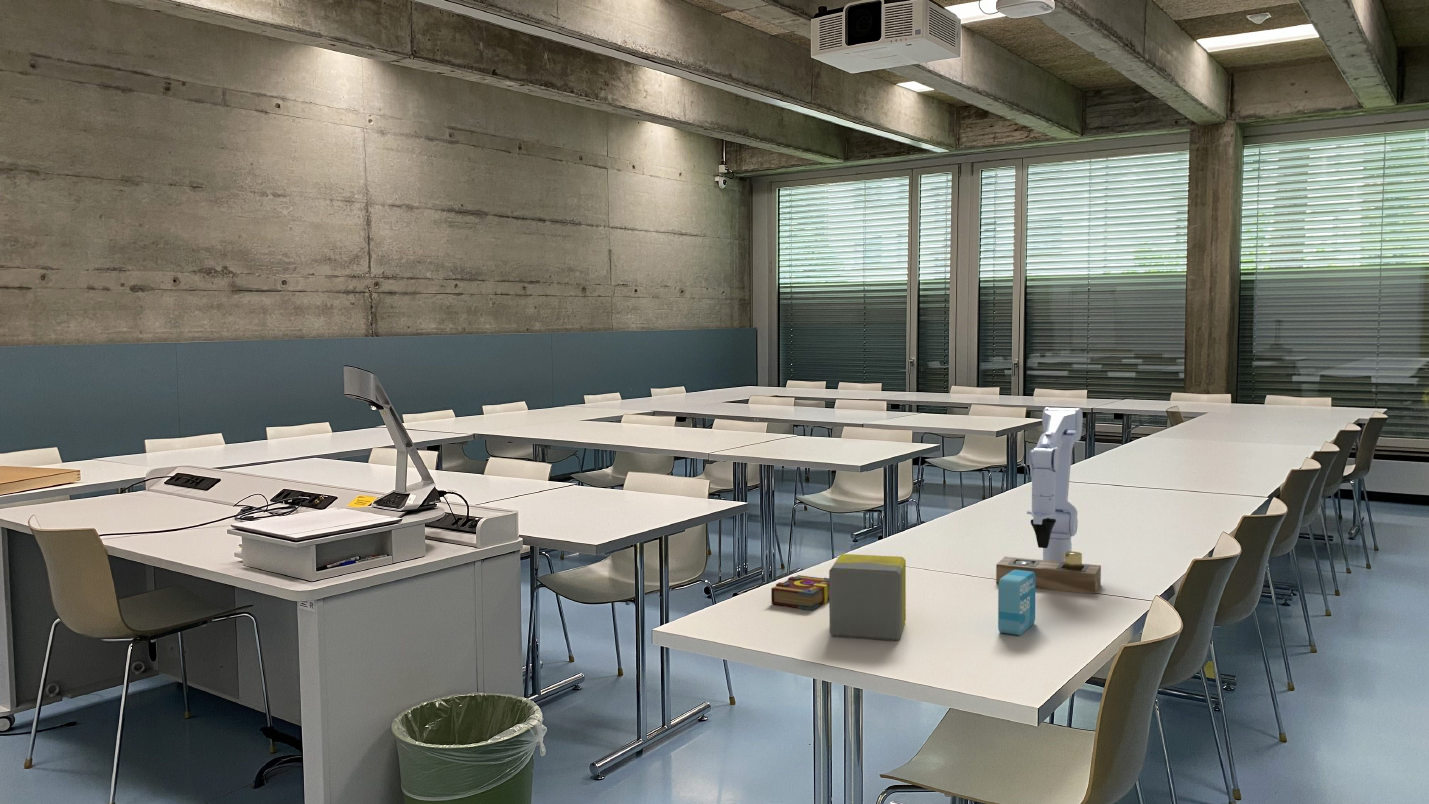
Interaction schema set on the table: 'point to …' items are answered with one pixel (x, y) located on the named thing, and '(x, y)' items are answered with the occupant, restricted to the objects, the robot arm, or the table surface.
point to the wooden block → (1054, 574)
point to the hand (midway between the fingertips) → (1043, 547)
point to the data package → (1016, 602)
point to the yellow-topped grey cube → (867, 596)
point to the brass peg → (1073, 560)
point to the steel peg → (1024, 562)
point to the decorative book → (801, 592)
